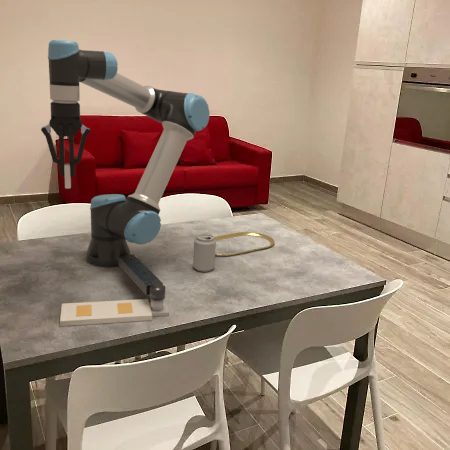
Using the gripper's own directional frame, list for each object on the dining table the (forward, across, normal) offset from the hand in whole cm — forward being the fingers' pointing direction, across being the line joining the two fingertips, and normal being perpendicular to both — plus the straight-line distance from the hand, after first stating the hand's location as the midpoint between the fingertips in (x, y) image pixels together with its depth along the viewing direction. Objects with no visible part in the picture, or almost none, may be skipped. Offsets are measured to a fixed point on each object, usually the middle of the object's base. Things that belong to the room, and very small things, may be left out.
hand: (68, 187), depth 139 cm
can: (+33, -44, -13) cm, 56 cm away
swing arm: (+28, -21, +5) cm, 35 cm away
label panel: (+32, -12, +16) cm, 38 cm away
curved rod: (+33, -62, -35) cm, 79 cm away
